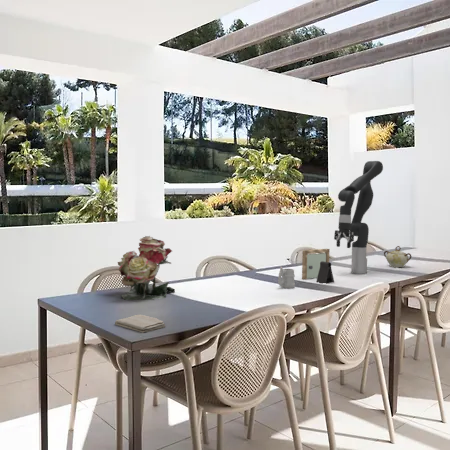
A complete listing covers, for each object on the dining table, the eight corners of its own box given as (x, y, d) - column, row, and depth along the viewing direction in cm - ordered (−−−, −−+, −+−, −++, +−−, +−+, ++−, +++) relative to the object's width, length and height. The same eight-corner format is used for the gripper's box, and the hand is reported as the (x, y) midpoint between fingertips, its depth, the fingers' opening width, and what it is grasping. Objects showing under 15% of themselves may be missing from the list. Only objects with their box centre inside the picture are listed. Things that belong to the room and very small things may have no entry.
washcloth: (144, 334, 183) (144, 326, 182) (113, 325, 194) (113, 318, 194) (167, 328, 192) (167, 320, 192) (136, 320, 203) (136, 312, 203)
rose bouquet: (121, 290, 262) (121, 233, 260) (176, 291, 261) (177, 234, 259) (108, 300, 237) (108, 237, 235) (170, 301, 236) (170, 238, 234)
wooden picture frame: (326, 276, 312) (327, 248, 311) (328, 276, 311) (329, 249, 309) (301, 278, 302) (302, 250, 301) (304, 279, 300) (304, 250, 299)
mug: (297, 287, 275) (298, 265, 274) (283, 289, 267) (284, 267, 266) (287, 285, 281) (287, 264, 280) (273, 287, 273) (273, 266, 272)
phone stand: (324, 283, 287) (324, 263, 286) (316, 282, 291) (316, 261, 291) (334, 282, 292) (334, 261, 291) (326, 280, 297) (326, 260, 296)
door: (323, 276, 311) (324, 253, 310) (326, 276, 308) (327, 253, 308) (305, 278, 303) (305, 254, 302) (308, 278, 301) (308, 254, 300)
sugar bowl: (414, 267, 356) (415, 246, 355) (407, 269, 345) (408, 248, 344) (387, 264, 369) (388, 244, 368) (379, 266, 357) (380, 245, 356)
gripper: (357, 222, 313) (356, 248, 313) (340, 221, 324) (338, 246, 325) (349, 222, 308) (347, 248, 309) (332, 221, 320) (330, 246, 321)
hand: (343, 247), depth 317 cm, fingers open, 8 cm apart
